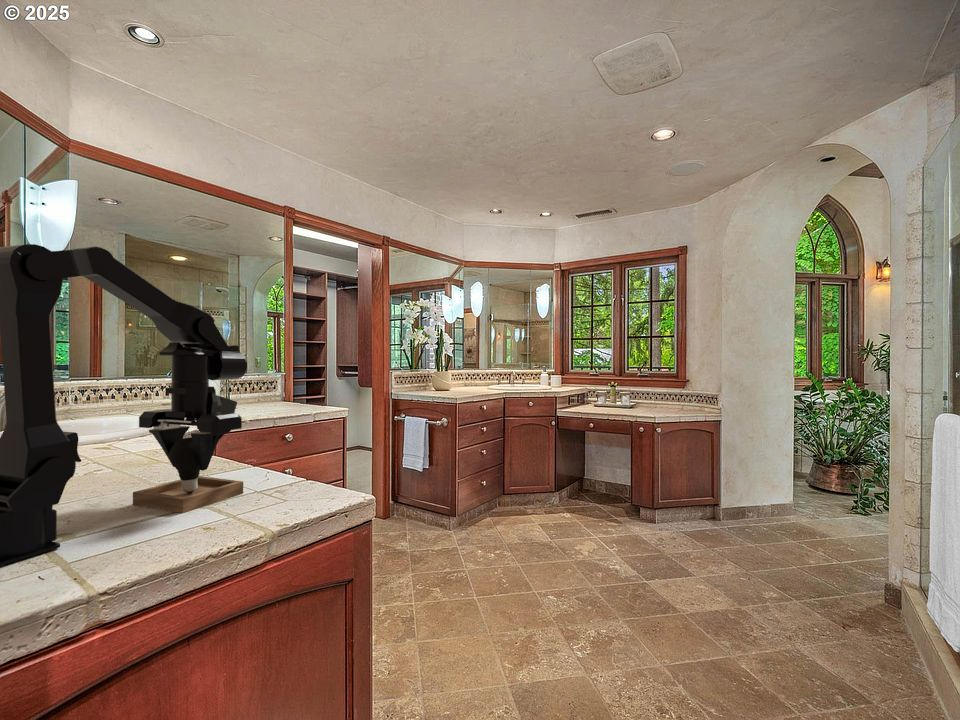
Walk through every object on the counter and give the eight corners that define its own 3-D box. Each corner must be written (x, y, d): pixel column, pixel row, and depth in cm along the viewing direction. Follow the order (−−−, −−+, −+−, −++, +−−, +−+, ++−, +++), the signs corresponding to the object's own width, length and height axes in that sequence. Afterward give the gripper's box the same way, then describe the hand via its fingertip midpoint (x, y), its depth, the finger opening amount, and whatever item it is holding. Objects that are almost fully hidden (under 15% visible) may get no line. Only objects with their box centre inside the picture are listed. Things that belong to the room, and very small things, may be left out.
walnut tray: (183, 513, 76) (182, 499, 76) (132, 504, 80) (132, 492, 80) (243, 493, 88) (243, 481, 88) (196, 486, 92) (196, 475, 92)
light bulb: (195, 498, 81) (194, 441, 81) (162, 498, 81) (160, 441, 81) (215, 488, 87) (214, 434, 86) (184, 488, 87) (183, 434, 87)
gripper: (265, 380, 88) (265, 463, 88) (193, 379, 95) (193, 456, 95) (213, 383, 78) (213, 477, 78) (137, 381, 84) (136, 467, 84)
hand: (190, 468), depth 84 cm, fingers open, 6 cm apart
